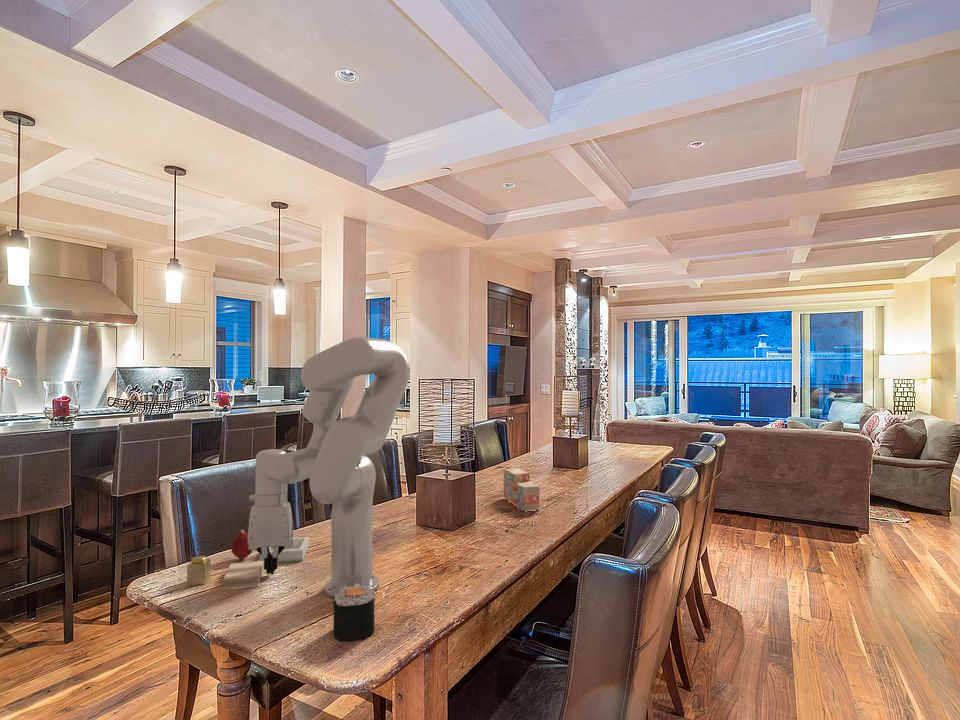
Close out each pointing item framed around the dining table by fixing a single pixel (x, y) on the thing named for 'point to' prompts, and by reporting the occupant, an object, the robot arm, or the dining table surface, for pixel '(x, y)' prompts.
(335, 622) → the sushi
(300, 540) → the ceramic dish
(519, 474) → the stack of blocks
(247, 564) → the maple board
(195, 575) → the bench dog
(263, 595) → the dining table surface
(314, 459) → the robot arm
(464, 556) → the dining table surface
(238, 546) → the onion
